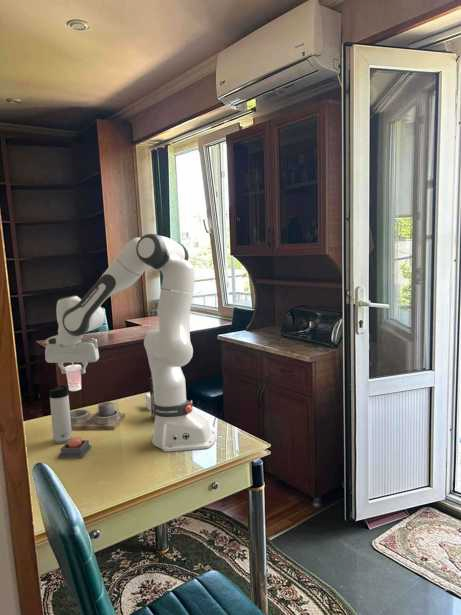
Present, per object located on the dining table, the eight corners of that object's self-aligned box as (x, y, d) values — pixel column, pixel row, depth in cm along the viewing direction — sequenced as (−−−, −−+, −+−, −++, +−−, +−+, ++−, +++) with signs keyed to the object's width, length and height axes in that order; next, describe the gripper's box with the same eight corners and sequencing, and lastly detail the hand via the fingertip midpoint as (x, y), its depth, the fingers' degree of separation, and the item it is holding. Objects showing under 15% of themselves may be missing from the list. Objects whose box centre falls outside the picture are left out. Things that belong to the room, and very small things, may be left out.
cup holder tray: (124, 416, 188) (123, 399, 187) (114, 429, 176) (113, 410, 175) (72, 417, 190) (70, 399, 189) (58, 429, 177) (56, 411, 176)
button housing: (91, 447, 161) (90, 439, 160) (82, 458, 153) (81, 449, 152) (69, 447, 161) (68, 439, 161) (58, 458, 153) (58, 449, 153)
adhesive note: (159, 404, 202) (159, 391, 201) (164, 408, 197) (163, 395, 196) (146, 407, 199) (145, 393, 199) (150, 411, 194) (149, 397, 193)
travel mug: (67, 444, 164) (62, 389, 161) (50, 443, 165) (45, 389, 162) (76, 437, 170) (71, 384, 167) (59, 436, 171) (55, 383, 168)
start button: (83, 443, 159) (83, 437, 158) (78, 448, 154) (78, 442, 154) (71, 443, 159) (70, 437, 159) (65, 448, 155) (65, 442, 154)
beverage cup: (85, 389, 181) (82, 354, 179) (69, 392, 178) (65, 357, 175) (80, 385, 186) (77, 351, 184) (65, 388, 183) (61, 353, 180)
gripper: (100, 336, 181) (102, 370, 183) (49, 337, 183) (52, 371, 185) (94, 339, 175) (96, 375, 177) (41, 340, 177) (44, 375, 178)
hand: (73, 373), depth 181 cm, fingers closed on beverage cup, 6 cm apart
